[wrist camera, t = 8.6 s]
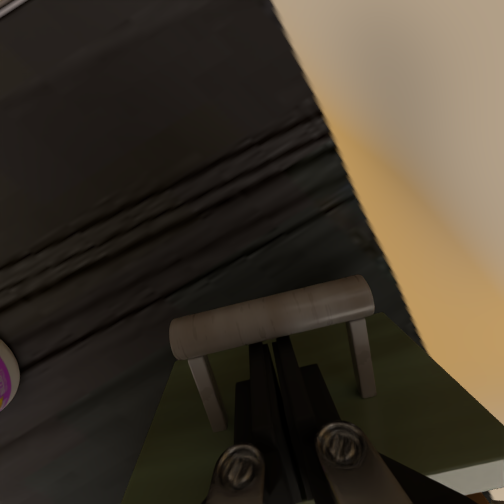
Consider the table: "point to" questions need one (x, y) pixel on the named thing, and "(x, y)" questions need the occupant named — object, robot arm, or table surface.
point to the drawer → (338, 383)
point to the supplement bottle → (8, 375)
